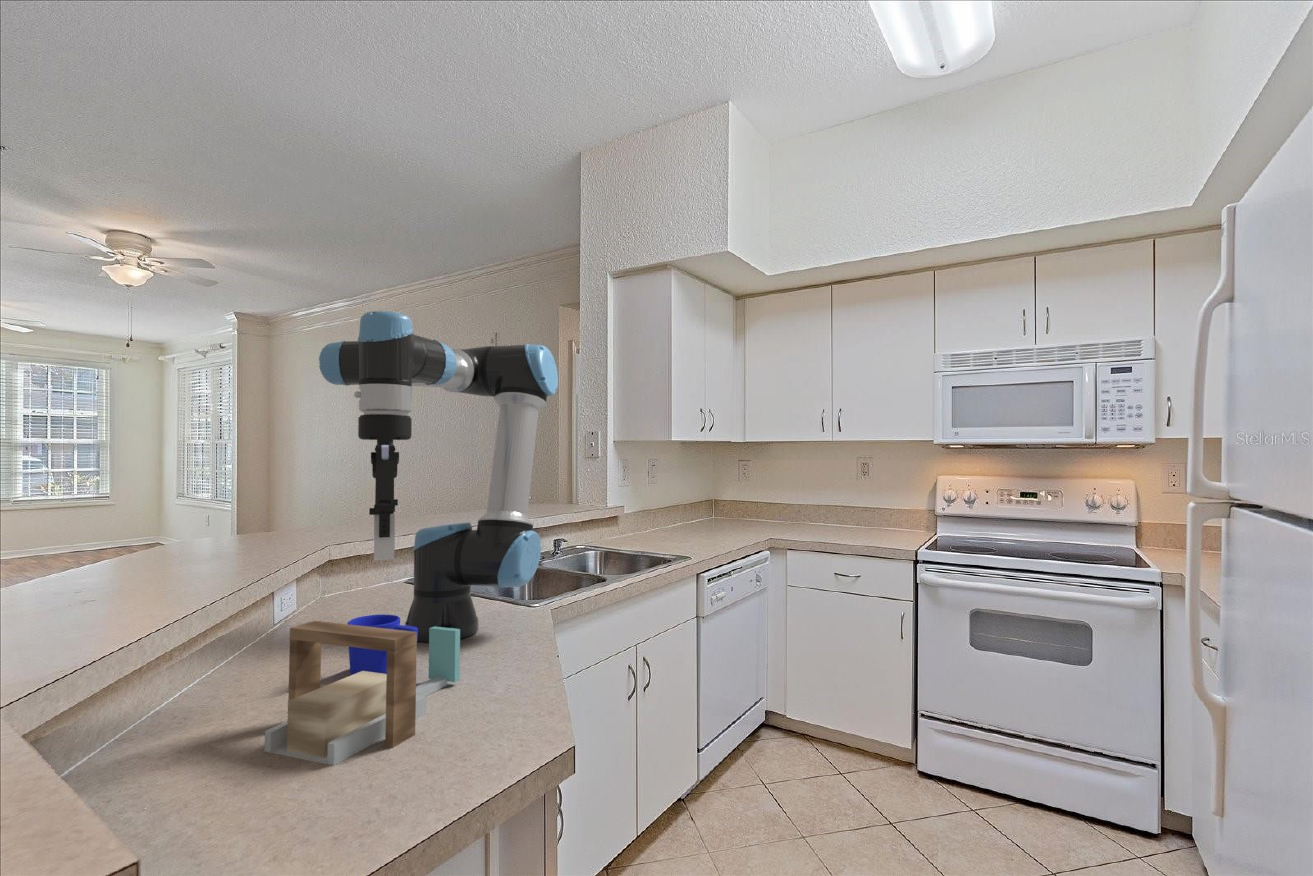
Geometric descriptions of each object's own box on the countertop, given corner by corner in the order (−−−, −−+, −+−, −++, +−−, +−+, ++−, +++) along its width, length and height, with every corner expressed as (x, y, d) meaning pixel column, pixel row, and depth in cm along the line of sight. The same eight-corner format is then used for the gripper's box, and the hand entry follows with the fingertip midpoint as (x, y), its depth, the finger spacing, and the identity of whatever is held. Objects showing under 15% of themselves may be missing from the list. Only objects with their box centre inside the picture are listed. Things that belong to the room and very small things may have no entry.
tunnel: (312, 726, 88) (315, 620, 89) (415, 744, 83) (416, 632, 83) (287, 737, 85) (290, 627, 85) (392, 758, 79) (394, 640, 79)
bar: (361, 714, 89) (362, 670, 90) (396, 719, 87) (397, 675, 88) (286, 750, 78) (288, 701, 78) (324, 758, 76) (325, 707, 76)
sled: (418, 683, 104) (419, 624, 104) (475, 691, 100) (476, 630, 101) (264, 757, 78) (266, 679, 78) (333, 772, 74) (335, 689, 75)
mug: (401, 692, 101) (402, 628, 102) (334, 686, 104) (336, 624, 104) (429, 675, 109) (430, 616, 110) (367, 670, 112) (368, 613, 112)
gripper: (361, 417, 107) (360, 543, 107) (354, 408, 84) (353, 568, 84) (409, 418, 110) (408, 541, 110) (414, 409, 87) (413, 564, 87)
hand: (384, 553), depth 97 cm, fingers open, 13 cm apart
